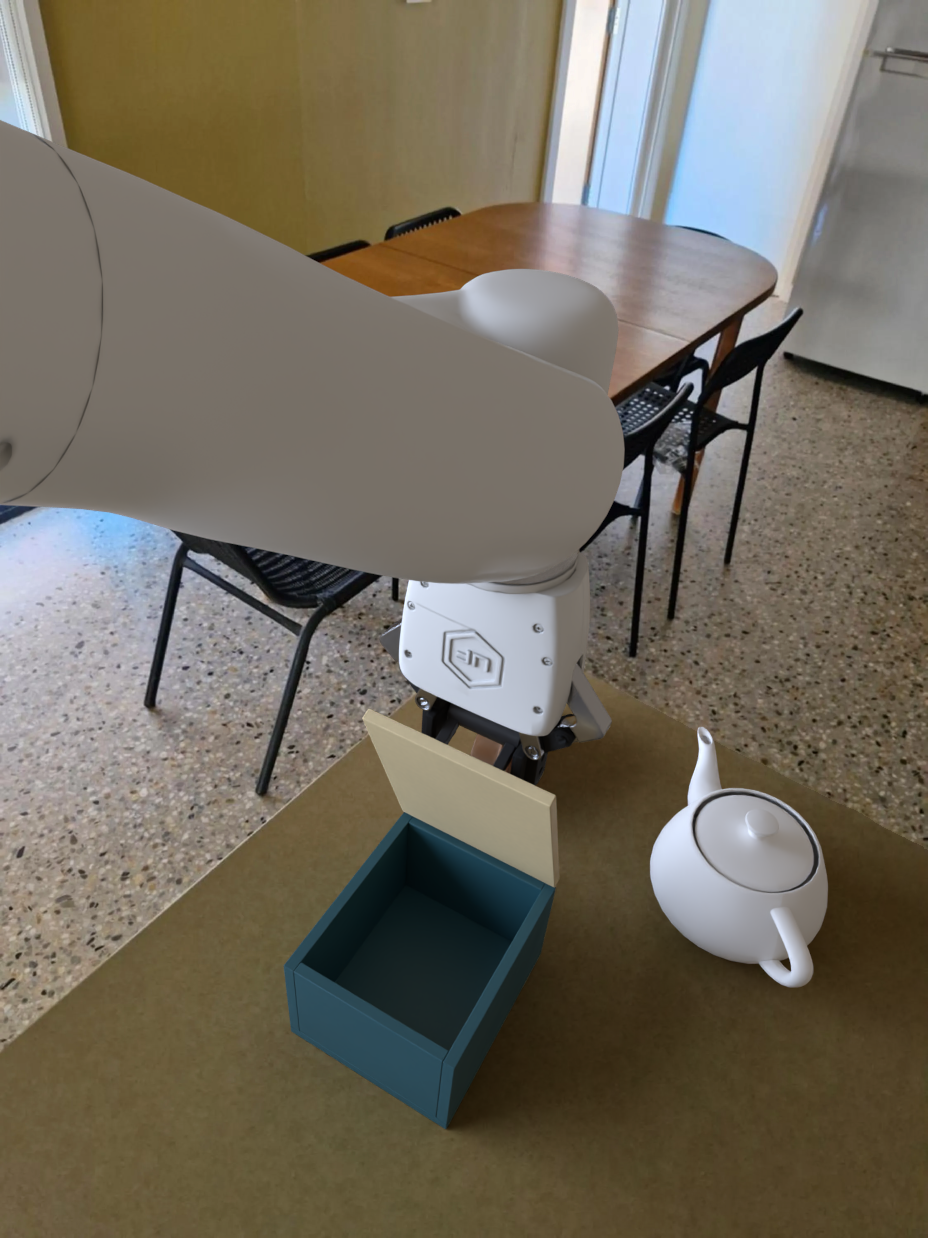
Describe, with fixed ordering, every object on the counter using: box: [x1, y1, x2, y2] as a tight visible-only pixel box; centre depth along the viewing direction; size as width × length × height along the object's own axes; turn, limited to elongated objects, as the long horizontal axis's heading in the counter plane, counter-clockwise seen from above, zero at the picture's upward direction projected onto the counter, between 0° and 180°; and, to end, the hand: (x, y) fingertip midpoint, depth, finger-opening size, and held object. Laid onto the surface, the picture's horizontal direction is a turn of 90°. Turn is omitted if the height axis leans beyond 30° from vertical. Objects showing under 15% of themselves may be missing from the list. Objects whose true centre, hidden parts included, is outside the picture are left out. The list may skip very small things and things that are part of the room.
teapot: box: [649, 726, 829, 988], centre depth 70 cm, size 22×14×11 cm, turn 8°
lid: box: [362, 703, 560, 888], centre depth 59 cm, size 15×13×5 cm
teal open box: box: [283, 812, 557, 1130], centre depth 62 cm, size 15×13×9 cm
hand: (480, 761), depth 57 cm, fingers open, 5 cm apart
